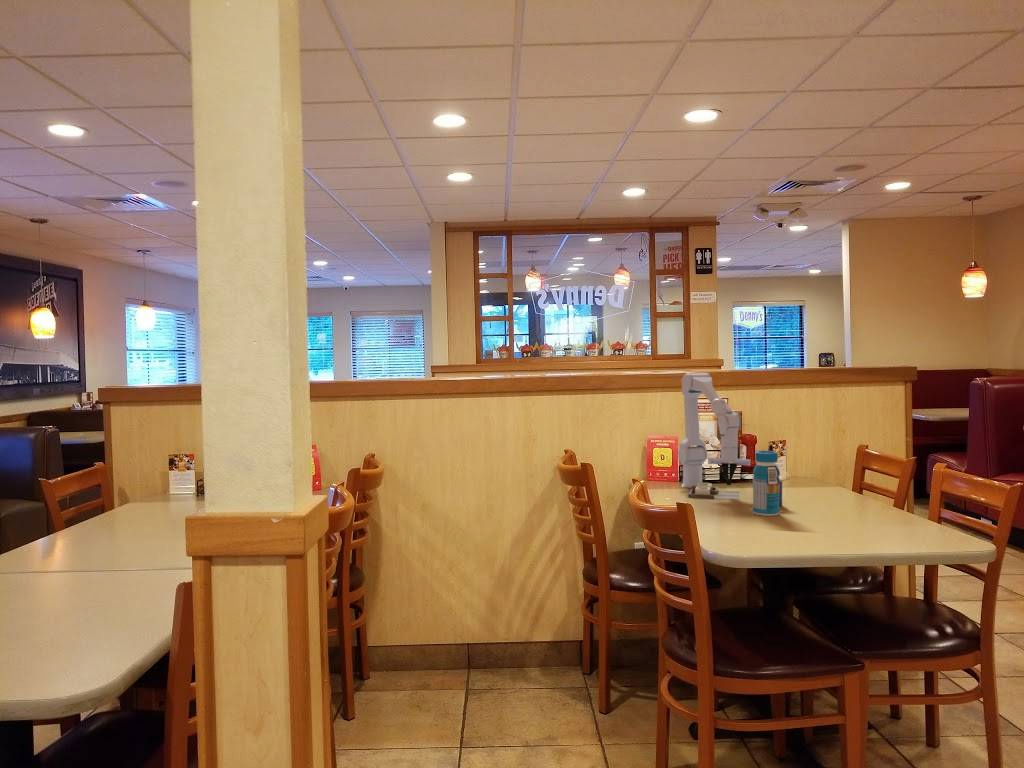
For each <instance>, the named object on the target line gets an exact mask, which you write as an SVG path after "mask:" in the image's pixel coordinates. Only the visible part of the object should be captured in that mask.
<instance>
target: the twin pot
mask: <svg viewBox="0 0 1024 768" xmlns="http://www.w3.org/2000/svg"><path fill="white" fill-rule="evenodd" d="M699 486H706V487H710V490H712V487H713V486H712V482H711V483H710V482H703V481H702V483H698V484H697V487H699Z"/></svg>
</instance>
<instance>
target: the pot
mask: <svg viewBox="0 0 1024 768" xmlns="http://www.w3.org/2000/svg"><path fill="white" fill-rule="evenodd" d="M695 494H705V495H710V487H706V486H699V487H696V488H695Z"/></svg>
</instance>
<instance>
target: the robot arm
mask: <svg viewBox="0 0 1024 768" xmlns="http://www.w3.org/2000/svg"><path fill="white" fill-rule="evenodd" d="M680 383H681V394H682V395H683V406H684V408H683V409H684V428H685V431H684V432H685V438H684V439H683V440H682V441H681V442H680V443H679V445H678V446H679V448H678V453H677V455H678V459H679V461H680V463H681V464H682V470H683V471H682V484H681V488H686V489H687V488H690V489H691V487H692V486H697V484H698V483H702V482H703V465H704V464H705V462H706V460H707V464H708V465H720V466H721V470H722V472H723V474H724V476H725V481H726V486H732V480H733V477H734V474H735V472H736V471H737V466H750V467H751V459H748V458H747V459H746V458H738V456H739V455H738V450H739V449H738V445H739V444H738V443H739V442H738V441H739V438H738V437H739V435H738V434H739V433H738V432H739V429H740V428H741V426H742V418H741V415H740V414H739V412H735V411H734V410H732V409H731V406H729V404H728V403H727V401H726V400H725V399H724V398H723V397H722V398H720V395H718V393H717V391H716V389H715V388H714V386H713V378H712V377H711V375H710V374H709V373H708V372H704V373H701V372H700V373H688V372H687V373H684V374H683V376H682V378H681V382H680ZM702 394H703V395H704V397H705V398H706V399H707V400H708V401H709V402H710V409H711V411H712V412H713V414H714V415H715V417H716V418H717V426H718V428H719V434H720V457H708V450H707V448H706V443H705V442H704V441H703V440H702V439H701V438H700V422H699V419H700V418H699V399H698V398H699V397H700V396H701V395H702Z"/></svg>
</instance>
